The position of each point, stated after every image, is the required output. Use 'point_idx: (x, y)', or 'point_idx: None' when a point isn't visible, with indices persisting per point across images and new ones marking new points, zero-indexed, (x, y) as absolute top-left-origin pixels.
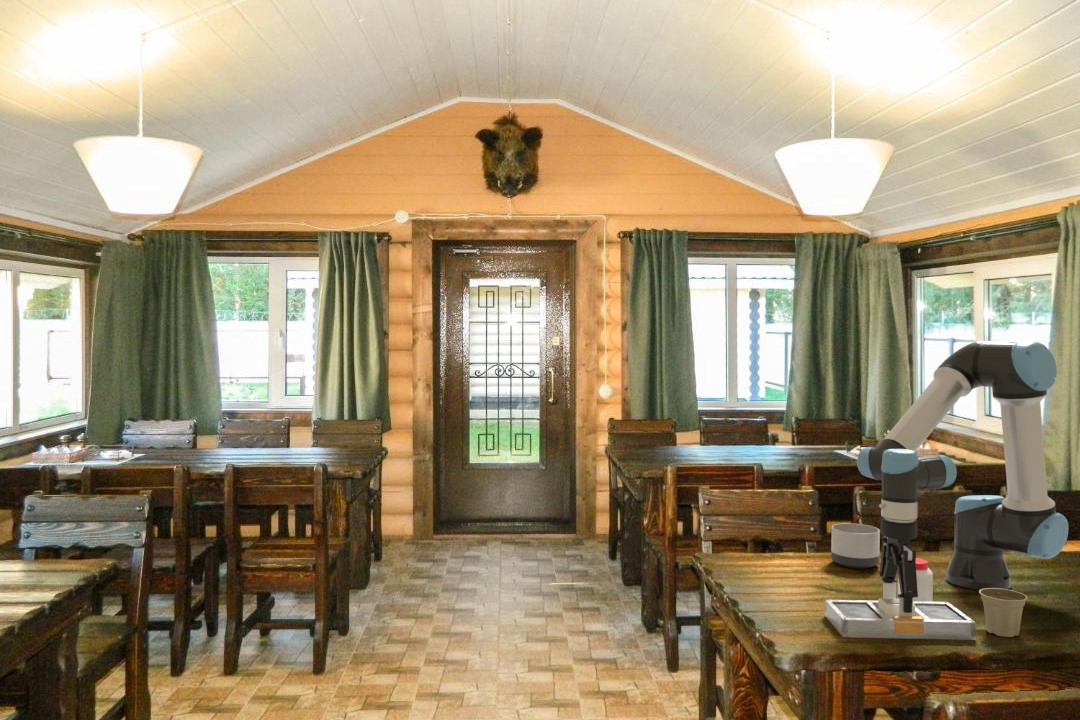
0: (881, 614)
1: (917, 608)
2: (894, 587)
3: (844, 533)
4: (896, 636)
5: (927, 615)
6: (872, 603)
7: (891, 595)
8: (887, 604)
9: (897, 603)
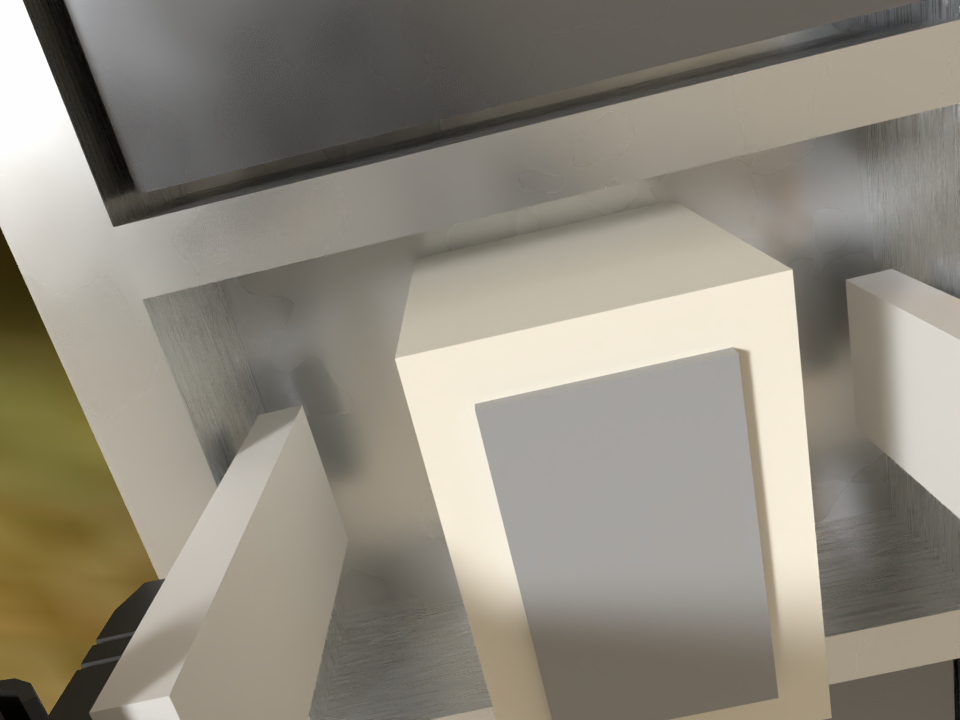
0: None
1: (298, 133)
2: (208, 664)
3: None
4: None
5: (647, 14)
6: (313, 713)
7: (277, 601)
8: (817, 689)
9: (763, 558)
